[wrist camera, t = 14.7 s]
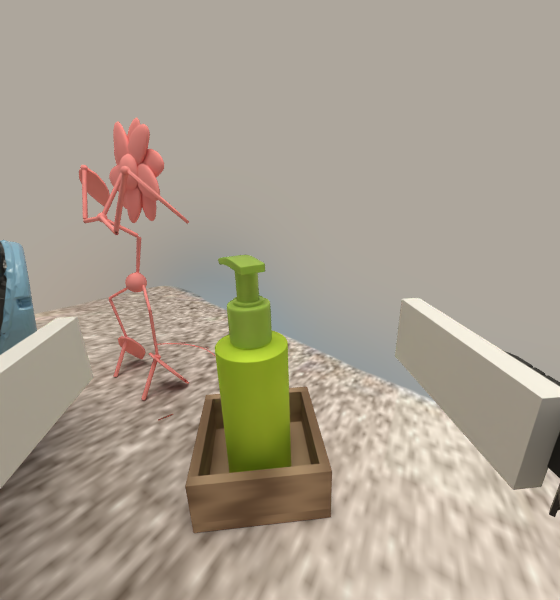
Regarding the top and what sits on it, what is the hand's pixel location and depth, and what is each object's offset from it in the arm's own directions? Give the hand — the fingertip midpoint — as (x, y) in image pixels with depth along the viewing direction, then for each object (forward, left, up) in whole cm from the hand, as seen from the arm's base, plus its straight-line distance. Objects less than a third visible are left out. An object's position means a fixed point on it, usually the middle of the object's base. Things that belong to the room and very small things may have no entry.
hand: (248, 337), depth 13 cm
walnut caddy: (-7, +10, -20) cm, 23 cm away
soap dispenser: (-7, +9, -19) cm, 22 cm away
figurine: (-30, +19, -20) cm, 41 cm away
